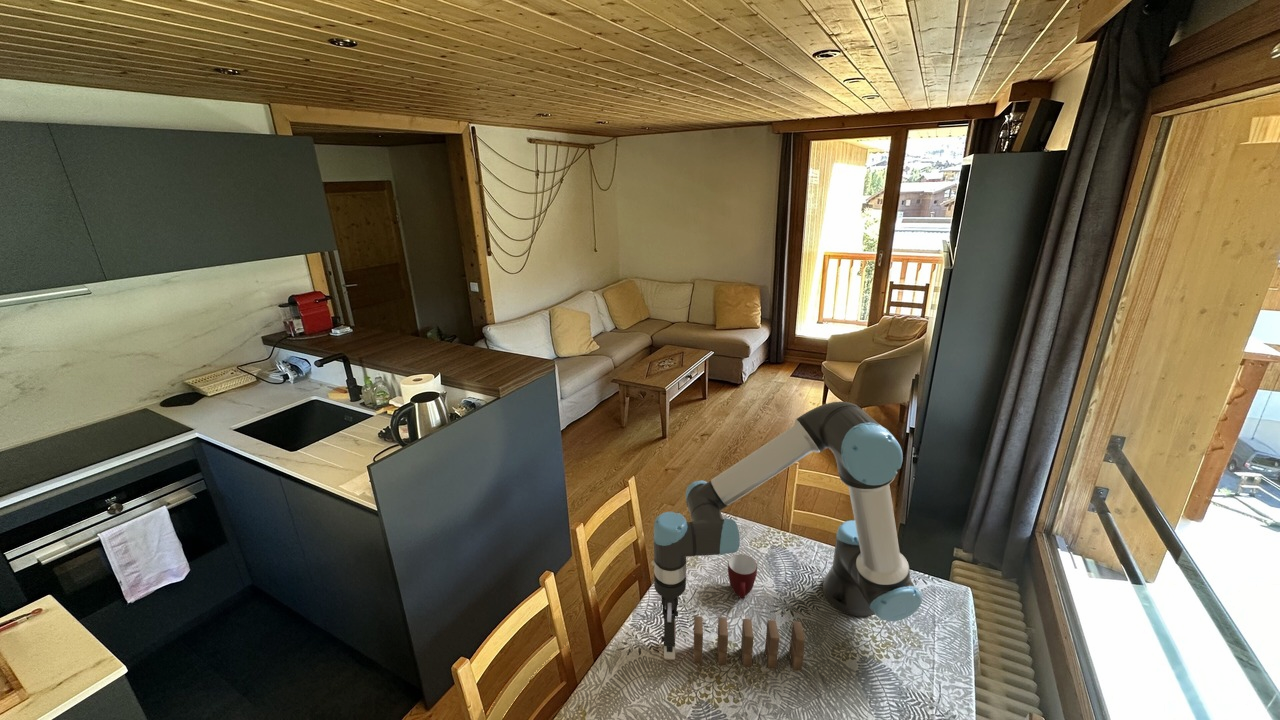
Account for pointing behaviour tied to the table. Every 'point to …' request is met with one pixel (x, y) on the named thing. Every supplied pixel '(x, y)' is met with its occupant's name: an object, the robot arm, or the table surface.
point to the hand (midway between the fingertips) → (670, 647)
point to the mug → (742, 574)
